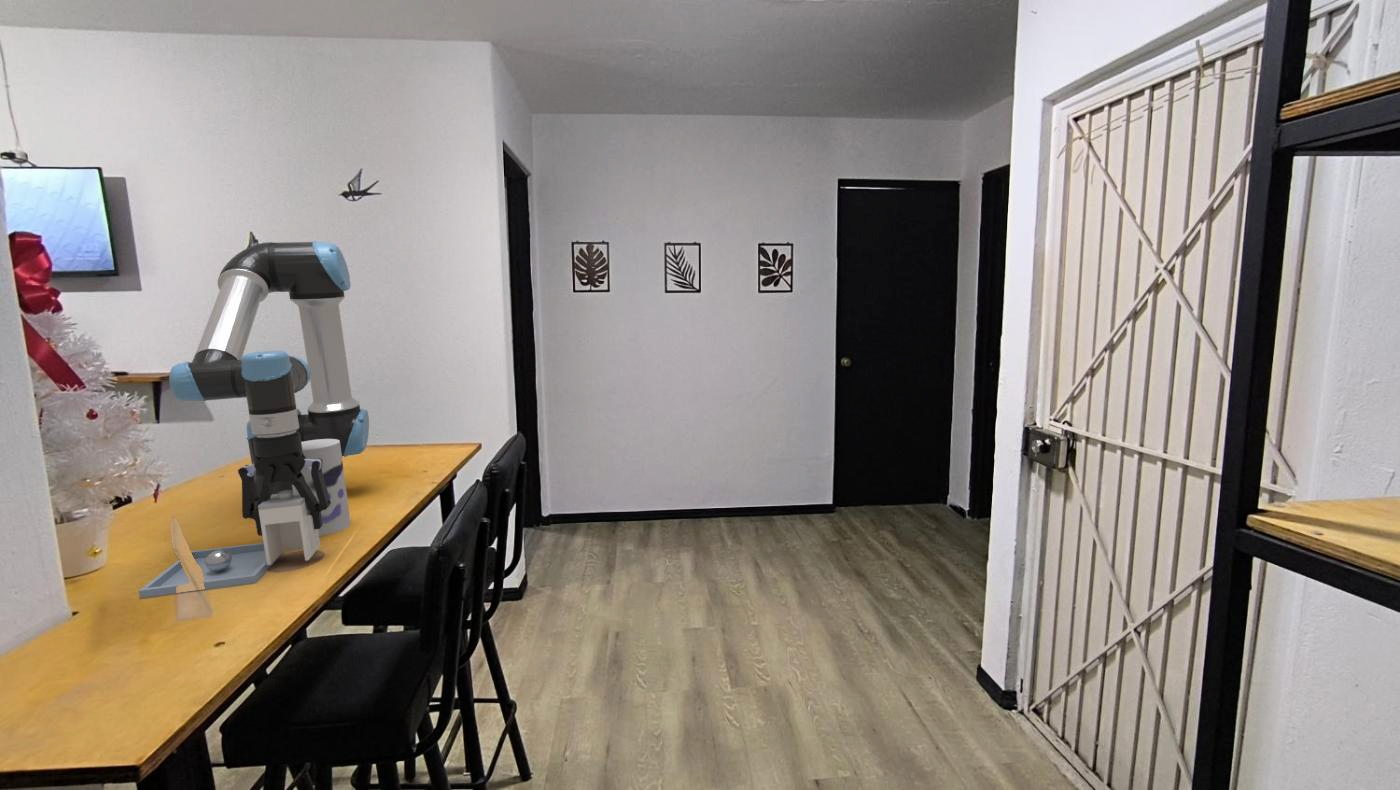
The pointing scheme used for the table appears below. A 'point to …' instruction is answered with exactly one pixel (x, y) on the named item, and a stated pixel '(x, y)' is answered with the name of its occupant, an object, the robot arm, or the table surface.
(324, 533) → the container
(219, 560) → the ball
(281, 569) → the coaster
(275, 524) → the open-front grey box
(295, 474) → the robot arm
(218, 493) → the table surface
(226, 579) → the tray
